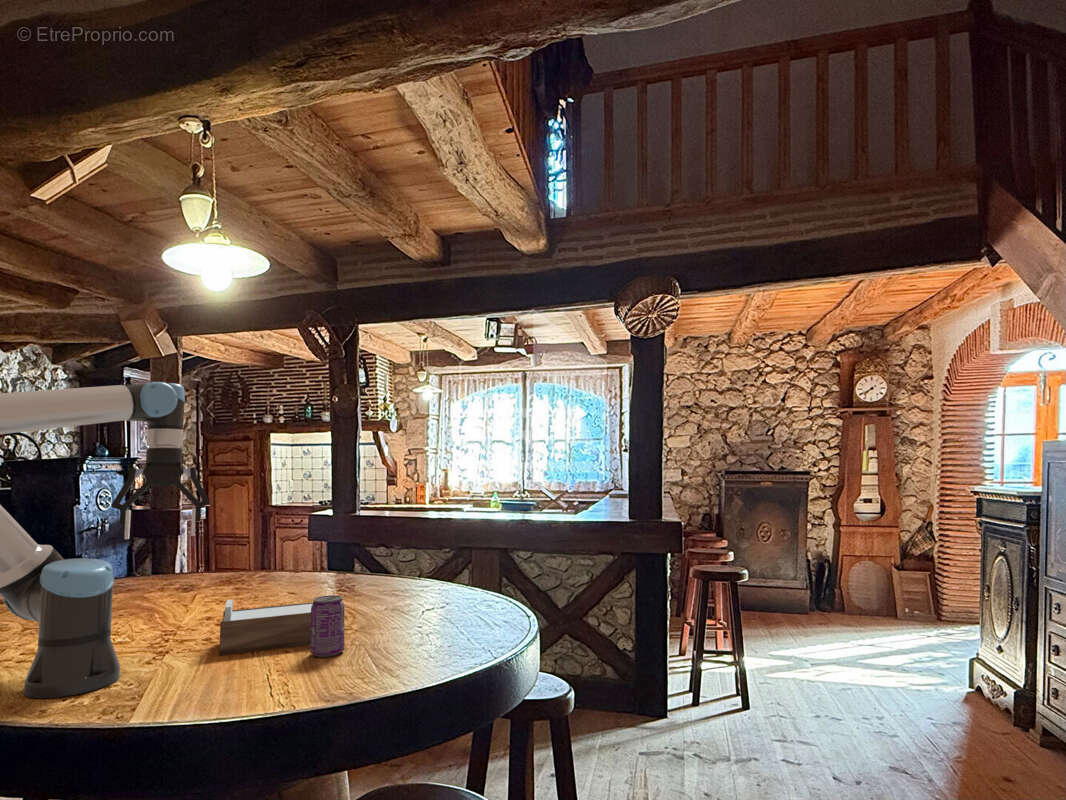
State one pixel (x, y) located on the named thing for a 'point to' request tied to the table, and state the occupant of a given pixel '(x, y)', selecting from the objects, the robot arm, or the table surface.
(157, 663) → the table surface
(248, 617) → the lid
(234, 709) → the table surface
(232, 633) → the box
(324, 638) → the beverage can
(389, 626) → the table surface
